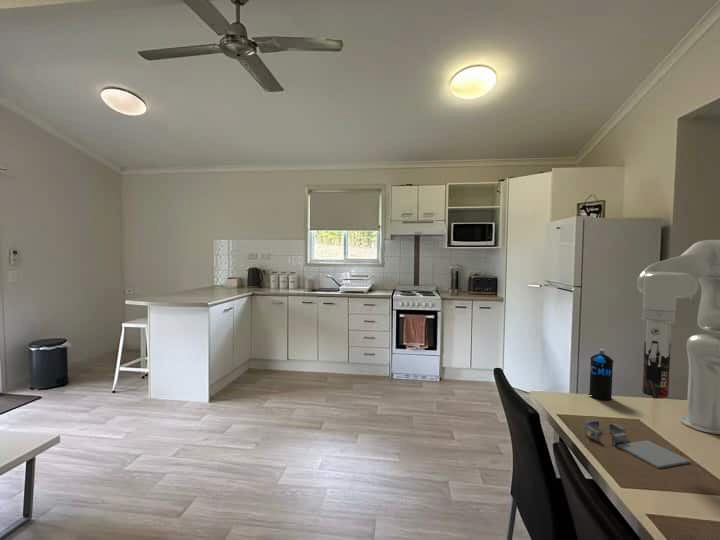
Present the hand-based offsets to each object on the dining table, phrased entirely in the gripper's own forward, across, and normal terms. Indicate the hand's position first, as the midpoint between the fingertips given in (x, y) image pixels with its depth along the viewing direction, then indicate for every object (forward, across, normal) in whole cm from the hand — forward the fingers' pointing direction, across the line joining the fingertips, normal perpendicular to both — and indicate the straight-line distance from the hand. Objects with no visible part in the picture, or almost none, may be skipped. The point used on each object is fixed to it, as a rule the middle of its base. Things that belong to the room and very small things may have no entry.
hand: (655, 376), depth 109 cm
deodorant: (+5, 0, 0) cm, 5 cm away
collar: (+23, +2, +12) cm, 26 cm away
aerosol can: (+23, +42, +22) cm, 53 cm away
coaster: (+23, 0, 0) cm, 23 cm away
